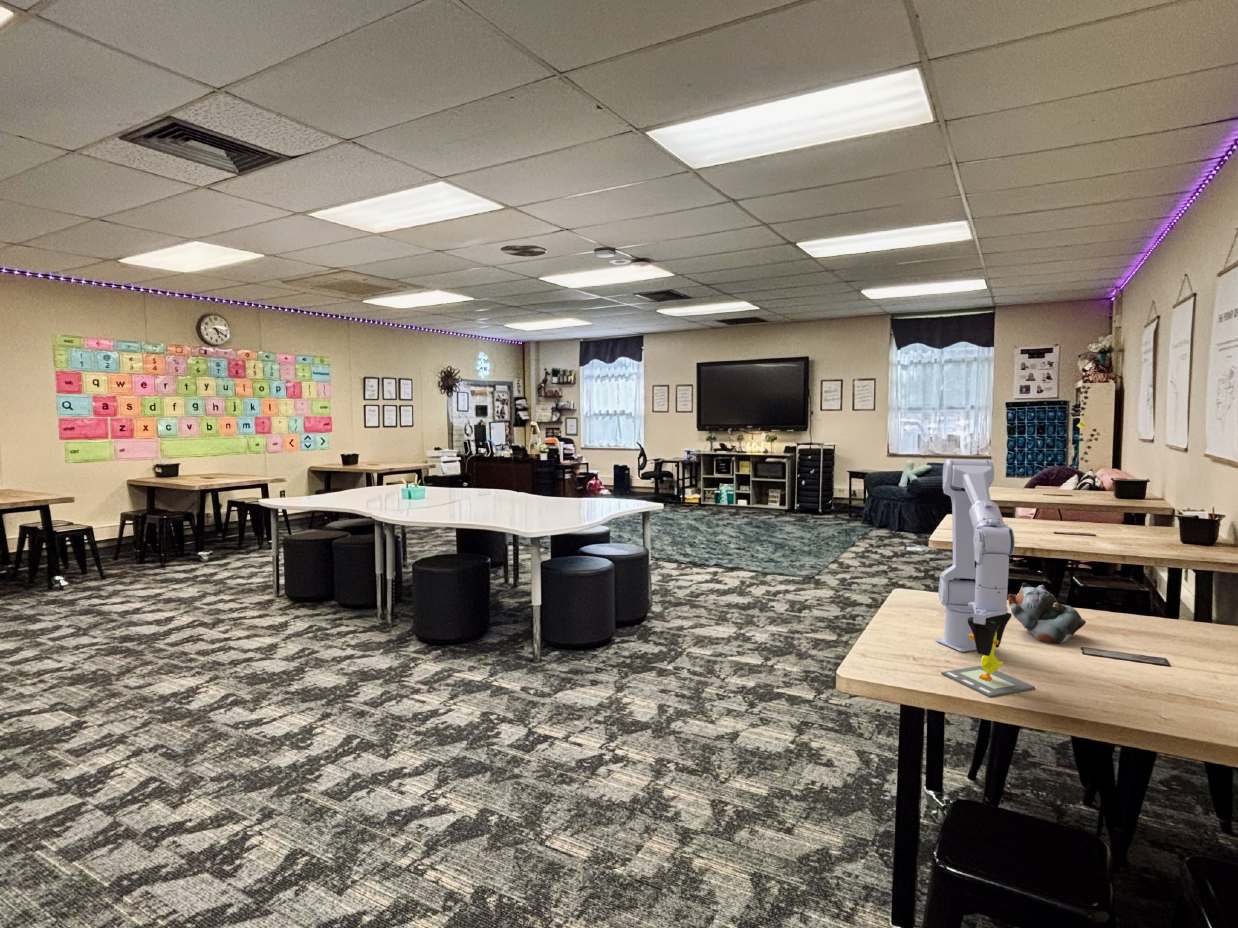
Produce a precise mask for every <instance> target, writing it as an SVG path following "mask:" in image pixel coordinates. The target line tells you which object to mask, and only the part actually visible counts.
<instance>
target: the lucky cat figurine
mask: <svg viewBox="0 0 1238 928" xmlns="http://www.w3.org/2000/svg"><path fill="white" fill-rule="evenodd" d="M1019 589H1020V590H1019V592H1018V593H1017V595H1016V594H1013V593H1009V594H1007V598H1008V599H1007V604H1008V606H1009V613H1010V614H1012V616H1013V617H1014V618H1015V620H1017V621H1018V622H1019V623H1020V624H1021V626H1023V628H1024V629H1026V630H1027V631H1028V632H1030V633H1031V634H1032V635H1033V636H1034V638H1036V639H1037V640H1038V641H1040V642H1042V643H1045V644H1046V643H1047V644H1053V645H1060V644H1061V643H1062V644H1063V643H1065V642H1066V641H1069V640H1071V638H1072V637H1073V635H1074V634H1075V633H1076V632H1077V631H1079V630H1080V629H1081V628H1083V627H1084V626H1085V625H1086V623H1087V622H1086V620H1085V619H1083V618H1082V616H1081V615H1080V613H1079V612H1078V611H1077V610H1076V608H1074V607H1072V606H1071V605H1066V604H1061V603H1059V602H1058V600H1057V599H1058V598H1056V597H1055V595H1054V594H1052V593H1051V592H1049V591H1048V590H1047V588H1046V586H1045V585H1043V584H1041V585H1038V586H1037V587H1034V586H1032V585H1031V584H1029V583H1028V582H1022V583H1021V587H1020V588H1019Z"/></svg>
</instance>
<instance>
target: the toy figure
mask: <svg viewBox="0 0 1238 928" xmlns="http://www.w3.org/2000/svg"><path fill="white" fill-rule="evenodd" d="M991 623H995V622H991ZM968 636H969V637H970V638H971V639H972V640H973V641H975V639H974V635H973V634H969V635H968ZM996 638H997V632H996V634H995V637H994V640H993V645H992V650H991V653H990V655H989V656H986V655H982V656H981V660H980V662H981V664H980V666H982V668H983V670H984V671H985V672H986V674H981V675H980V676H979V678H980V679H982V680H987V681H990V680H992V677H991V676H990V674H992V673H994V672H995V671H996V670H997V671H998V669H999V668H1000V667H1001V666H1002V665H1003V664H1004V661H999V660H998V658H997V657H996V655H995V652H996V648H995V647H996V645H998V643H999V641H998V640H997V639H996Z"/></svg>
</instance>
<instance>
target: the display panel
mask: <svg viewBox="0 0 1238 928" xmlns="http://www.w3.org/2000/svg"><path fill="white" fill-rule="evenodd" d="M940 674H941V675H942V676H944V677H947V678H949V679H951V680H953V681H955V682H957V683H958V684H961V685H963V686H965V687H967V688H969V689H971V690H973V691H975V692H978V693H980V694H982V695H984V696H986V697H988V698H992V697H997V696H1003V695H1009V694H1014V693H1019V692H1025V691H1029V690H1034V689H1036V686H1035V685H1032V684H1029V683H1028V682H1026V681H1024V680H1021V679H1019V678H1016V677H1013V676H1011V675H1009V674H1007V673H1004V672H1002V671H1000V670H998V669H997V670H996V671H995V672H994V673H992V674H990V676H991V677H992V680H990V681H987V680H982V679H980V678H979V676H980V675H981V674H986V672H985V671H984V670H983V668H982V666H981V665H976V666H971V667H965V668H958V669H957V668H956V669H952V670H947V671H941V672H940Z"/></svg>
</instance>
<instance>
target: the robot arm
mask: <svg viewBox="0 0 1238 928" xmlns="http://www.w3.org/2000/svg"><path fill="white" fill-rule="evenodd" d="M994 478H995V466H994V463H993V461H991V459H951V458H947V459H946V460H945V461H944V463H943V466H942V490H943V494H944V495H946V496H949V497H950V500H951V507H952V508H951V511H952V512H951V513H952V517H951V518H952V523H951V524H952V525H951V526H952V565H951V566H949V567H948V568H947V569H945V570H943V571H942V572H941V573H940V575H939V584H938V598H939V599H938V600H939V602H940V604H941V605H942V606H943V607H945V611H944V612H945V614H944V615H945V616H944V635H943V637H940V638H935V642H938V643H940V644H942V645H944V646H946V647H949V648H952V649H953V650H956V651H959V652H961V653H962V652H963V653H964V652H968V651H969V652H970V651H971V652H972V651H977V654H979V655H982V656H984V655H986V656H989V655H990V653H991V650H992V645H993V640H994V637H995V634H996V632H997V638H996V639H997V640H998V641H999V643H998V645H996V647H995V649H998V648H1000V644H1001V643H1002V638H1003V634H1004V632H1005V629H1006V626H1007V625H1008V622H1009V621H1010V619H1011V618H1012V616H1013V615H1012V613H1011V612H1009V611H1008V610H1009V609H1008V605H1007V604H1008V586H1009V569H1010V567H1009V565H1010V556H1012V555H1013V554H1014V552H1015V548H1016V547H1015V546H1016V545H1015V543H1016V542H1015V540H1016V539H1015V533H1014V530H1013V528H1012V526H1009V524H1008V523H1007V524H1006V523H1005V522H1004V519H1003V516H1002V513H1001V510H1000V507H999V505H998V504H997V503H996V502H994V501H992V500H991V494H990V487H992V486H991V485H992V484H993V482H994ZM959 579H960V580H959ZM961 579H967V580H961ZM968 579H969V580H968ZM991 622H995V623H991ZM969 634H973V635H974V639H975V641H973V640H972V639H971V638H970V637H969V636H968V635H969Z"/></svg>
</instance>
